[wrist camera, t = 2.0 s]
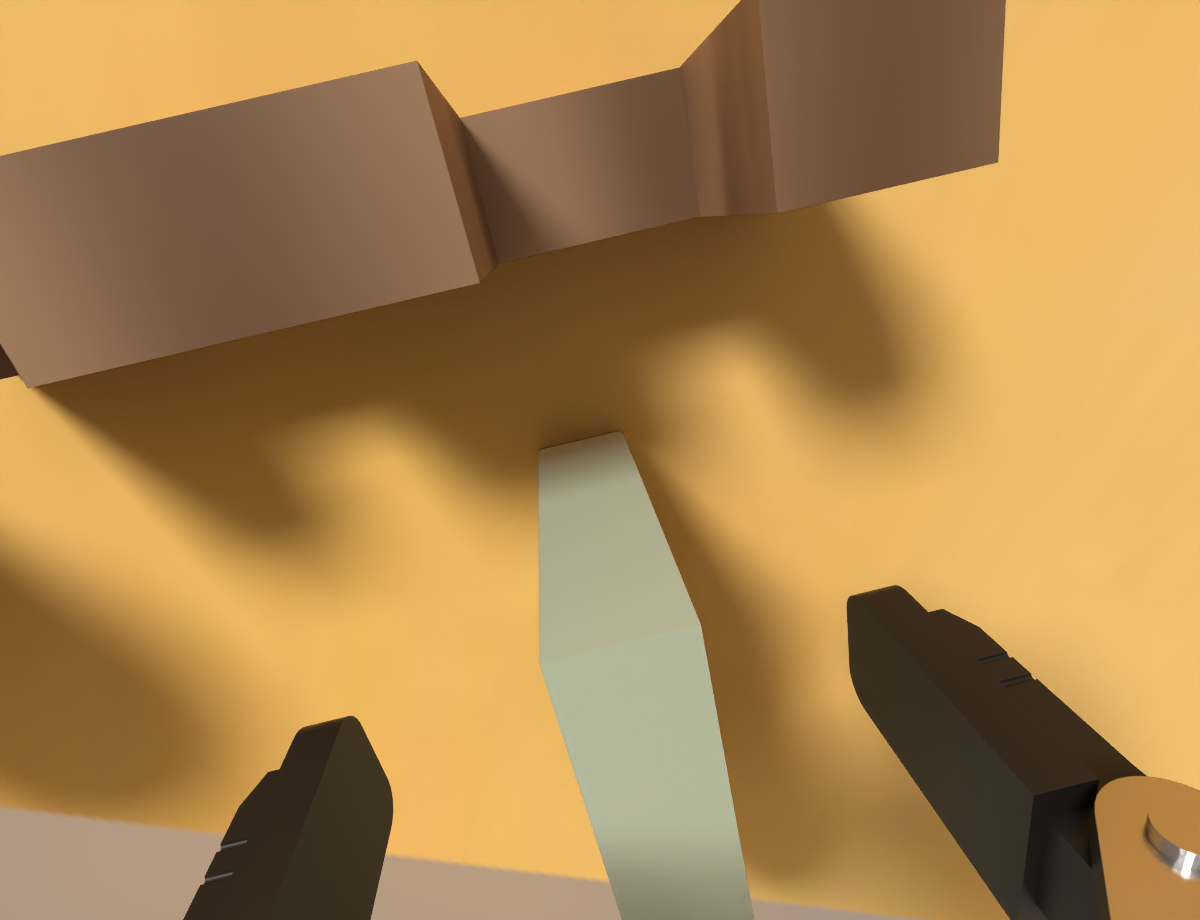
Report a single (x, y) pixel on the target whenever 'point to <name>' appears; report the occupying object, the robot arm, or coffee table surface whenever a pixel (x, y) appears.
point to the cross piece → (634, 690)
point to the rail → (468, 178)
